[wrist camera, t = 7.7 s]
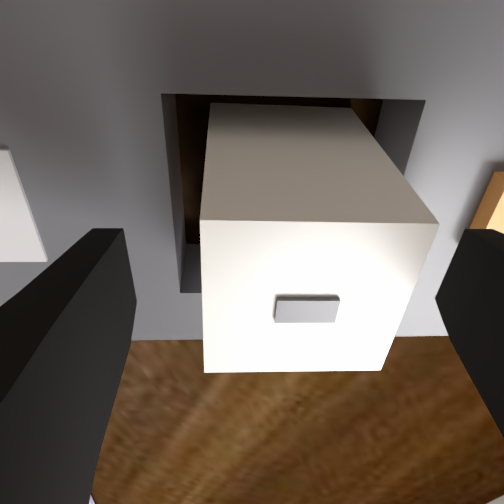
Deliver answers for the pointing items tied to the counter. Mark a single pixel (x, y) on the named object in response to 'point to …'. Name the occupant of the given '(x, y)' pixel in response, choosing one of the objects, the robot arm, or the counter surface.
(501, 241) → the robot arm
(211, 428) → the counter surface
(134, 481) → the counter surface
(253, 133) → the block
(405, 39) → the power strip
